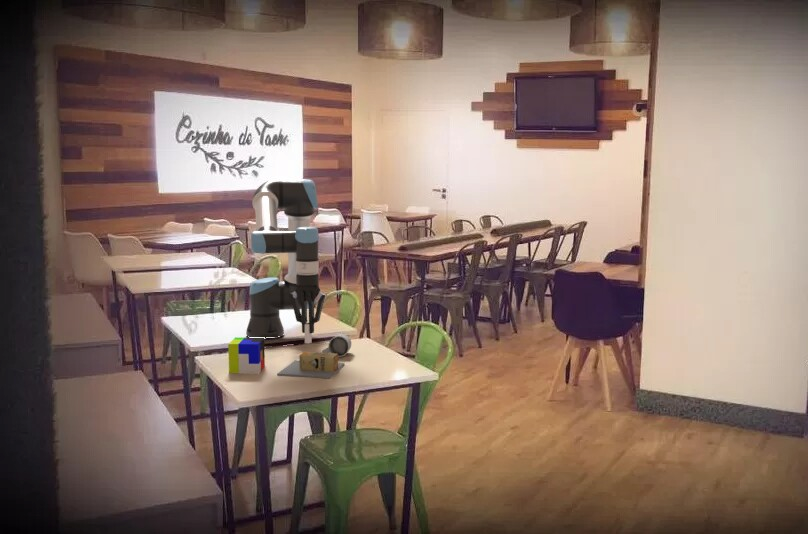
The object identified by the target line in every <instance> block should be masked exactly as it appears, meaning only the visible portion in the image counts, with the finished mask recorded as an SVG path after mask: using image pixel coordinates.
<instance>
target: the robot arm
mask: <svg viewBox="0 0 808 534" xmlns="http://www.w3.org/2000/svg"><path fill="white" fill-rule="evenodd" d="M251 200H252V201H251V202H252V207H253V209H254V210H255V231H252V232H250V247H251V248H250V249H251V250H250V251H251V253H253V254H287V256H288V260H287V261H288V262H287V265H288V266H287V270H288V271H287V274H286V275H285V276H284V277H283V278H284V279H283V280H280V278H279V277H265V278H260V279H255V280H254V281H252V282H251V283H250V285H249V293H248V294H249V304H250V305H249V308H250V310H249V312H250V313H249V315H250V316H249V322H248V324H247V327H246V330H245V331H246V333H245V334H246V335H247V336H249V337H265V338H266V337H278V336H282V335H283V334H284V335H285V327H284V326H283V323H282V320H281V317H280V311H283V310H284V311H285V310H287V311H289V310H291V311H292V310H293V312H294V317H295V321H296V322H297V323H300V324H301V333H302V334H304V344H311V343H312V339H313V338H312V334H314V332H315V324H316V323H318V322H320V320H321V315H322V311H323V307H324V302H325V299H326V298H327V297H328V296H327V295H328V294H326V293H324V292H322V291H321V289H320V285H319V284H320V275H319V274H318V273H319V272H320V269H319V267H320V264H319V263H320V262H319V239H320V236H319V230H318V228H317V227H314V226H311V218H312V217H313V215H315V210H318V208H319V204H318V195H317V189H316V184H315V181H314V180H312V179H303V178H282V179H281V178H280V179H279V178H275V179H274V178H273V179H270V180H267V181H266V182H264V183H262V184H261V185H259V186H258V188H257V189H256V190H255V191H254V193H253V196H252V199H251ZM277 210H283V214H284V215H285V216H286V217H287V229H288V230H278V218H277V217H278V216H277ZM317 298H318V302H317V301H316V300H317ZM316 302H317V305H316V310H315V304H316ZM246 335H245V336H246ZM247 336H246V337H247ZM282 337H283V336H282Z"/></svg>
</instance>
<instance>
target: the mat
mask: <svg viewBox="0 0 808 534" xmlns="http://www.w3.org/2000/svg"><path fill="white" fill-rule="evenodd" d="M344 366H345V362H338V368H337V369H336V370H335V371H334V372H332V371H316V370H300V364H299V360H297V359H296V360H294V361H292V362H291V363H290V364H288V365H287V366H285V367H284V368H283V369H282V370H280V371H279V372H277V373H276V375H277V376H281V377H283V376H284V377H295V378H296V377H299V378H312V379H313V378H314V379H315V378H316V379H331V377H333V376H334V375H335V374H336V373H337V372H338V371H339V370H341V369H342V367H344Z"/></svg>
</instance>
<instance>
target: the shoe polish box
mask: <svg viewBox="0 0 808 534" xmlns="http://www.w3.org/2000/svg"><path fill="white" fill-rule="evenodd" d="M298 359H299V360H298V361H299V364H300V370H316V371H332V372H334V371H335V370H336V369H337V368H338V363H339V357H338V354H334V353H322V352H315V351H313V352H312V351H303V352H302V353H300V354H299V357H298Z"/></svg>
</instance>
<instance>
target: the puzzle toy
mask: <svg viewBox="0 0 808 534" xmlns="http://www.w3.org/2000/svg"><path fill="white" fill-rule="evenodd" d="M227 345H228V346H227V347H228V348H227V349H228V351H227V352H228V374H260V373H261V371H262V370H263V368H264V367H265V366H266V362H265V361H266V360H265V357H266V355H265V354H266V353H265V339H264V338H248V337H239V336H238V337H234V338H233V339H232V340H231V341H230V342H229V343H228V344H227Z"/></svg>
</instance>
